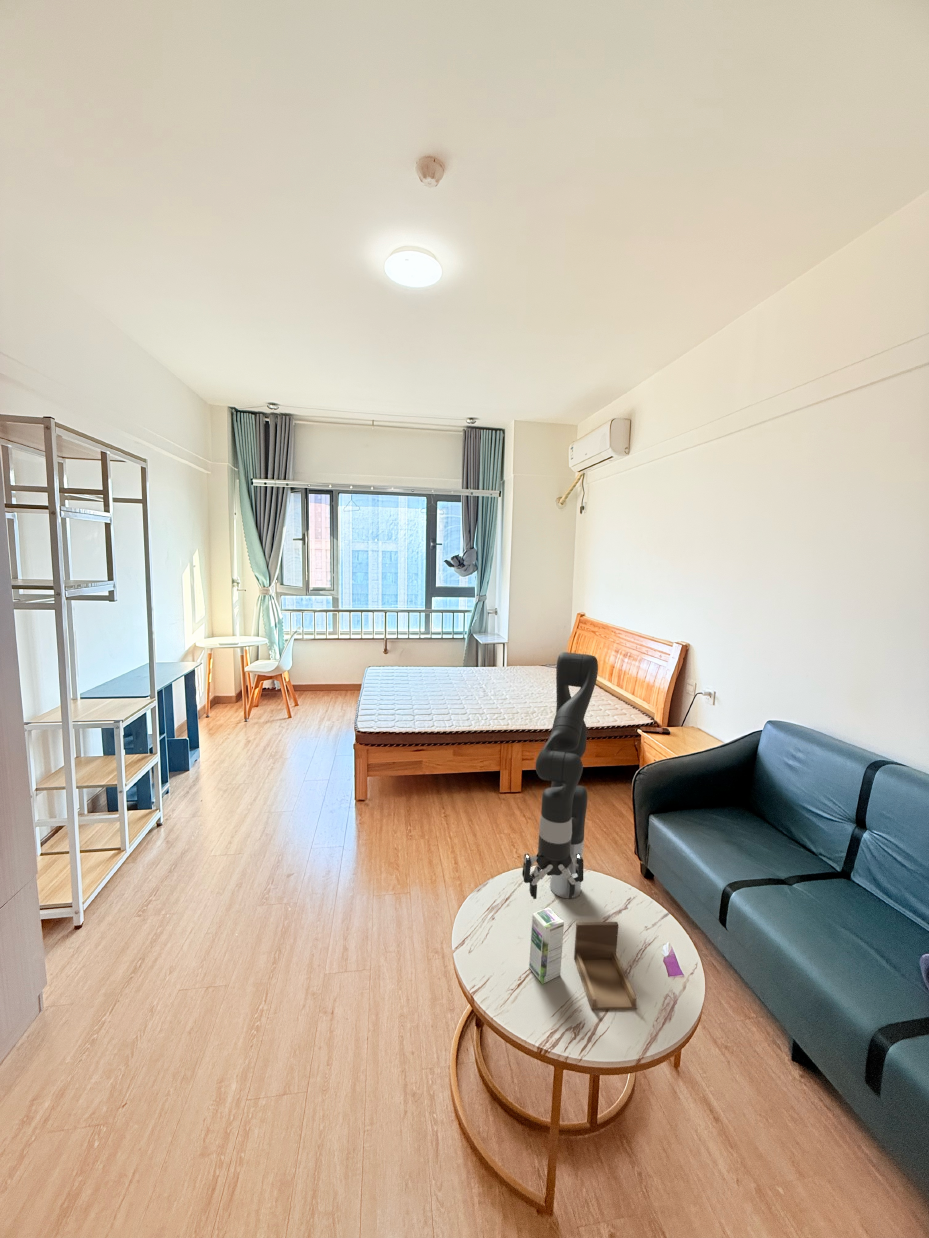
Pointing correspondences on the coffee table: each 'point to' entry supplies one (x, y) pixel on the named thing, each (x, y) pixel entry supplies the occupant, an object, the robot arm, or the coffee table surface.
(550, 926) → the syrup box
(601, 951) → the book rack
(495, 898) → the coffee table surface
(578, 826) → the robot arm
